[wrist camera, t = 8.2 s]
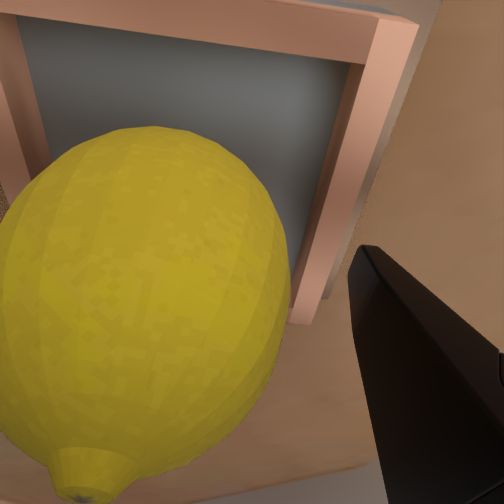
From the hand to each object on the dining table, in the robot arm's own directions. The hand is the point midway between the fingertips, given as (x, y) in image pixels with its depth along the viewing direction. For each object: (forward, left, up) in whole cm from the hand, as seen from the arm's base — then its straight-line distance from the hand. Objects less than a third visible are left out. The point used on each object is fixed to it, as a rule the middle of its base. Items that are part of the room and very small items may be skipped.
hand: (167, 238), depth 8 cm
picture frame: (0, 0, -6) cm, 6 cm away
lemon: (0, 0, -3) cm, 3 cm away
